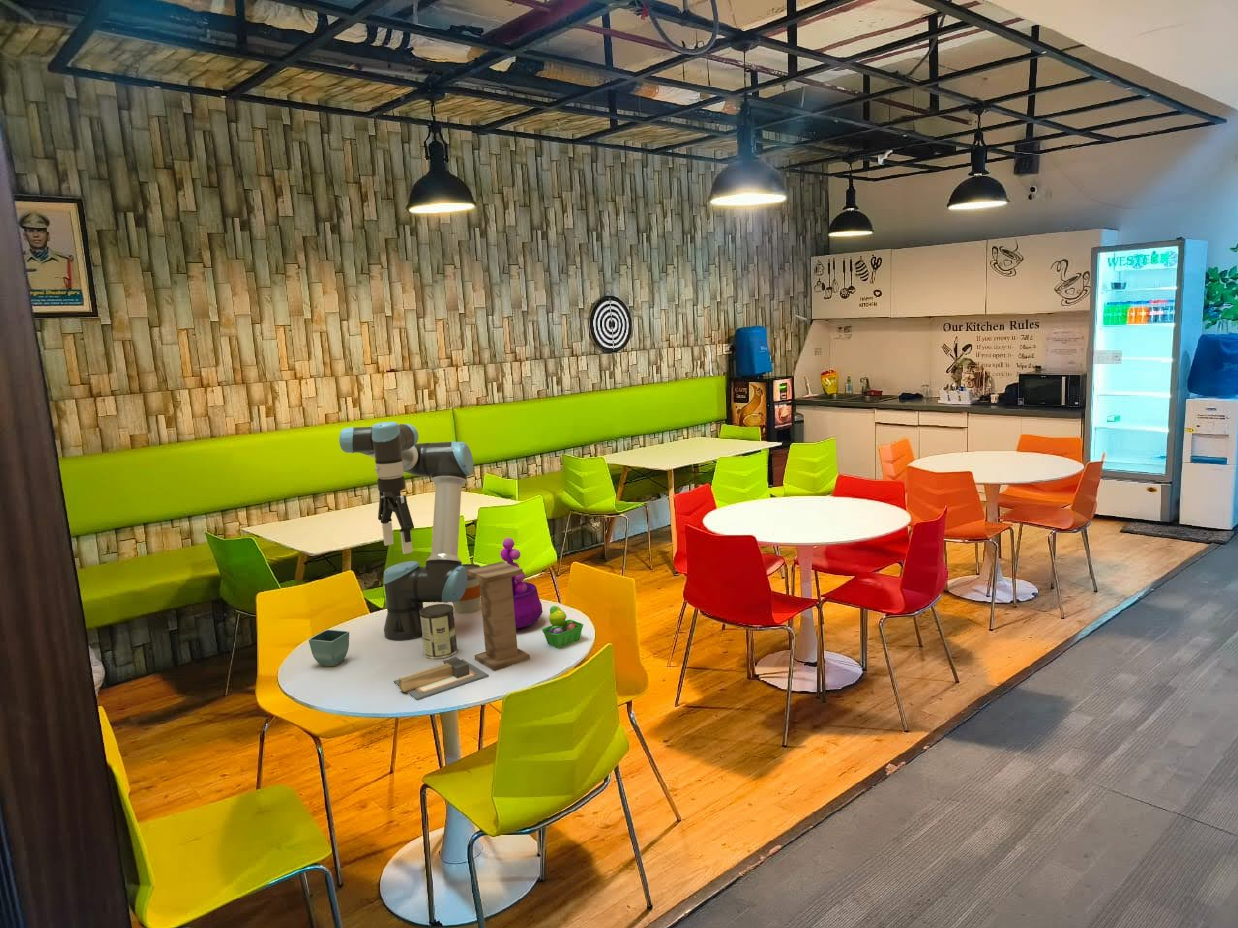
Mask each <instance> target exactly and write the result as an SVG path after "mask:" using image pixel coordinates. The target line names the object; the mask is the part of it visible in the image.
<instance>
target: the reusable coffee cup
mask: <svg viewBox="0 0 1238 928" xmlns="http://www.w3.org/2000/svg"><path fill="white" fill-rule="evenodd" d="M462 566H463V567H465V568H466V570H469V569H473V568H477V567H481V566H482V565H479V564H475V563H462ZM452 604H453V605H452V606H453V608H454V610H453V611H454V613H456V614H464V615H465V614H472V613H475V612H478V611H479V610H480V609H481V595H480V584H479V580H478V579H475V578H473V577H471V576H468V575H467V585H466V589H465V592H464V595H463V596H462V598H461V599H460V600H459V601H456V602H452Z"/></svg>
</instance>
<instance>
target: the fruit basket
mask: <svg viewBox="0 0 1238 928" xmlns="http://www.w3.org/2000/svg"><path fill="white" fill-rule="evenodd" d="M548 616H549V617H548V620H549V623H550V624H551V625H548V626H546V627H544V628H542V629H541V632H542V633H543V634H544V637H545V640H546V643H547V645H548V644H549V645H550V646H551V647H553V646H554V648H556V649H559V648H562V647H565V646H567V645H570V644H572V643H575V642H579V641H580V640H581V635H582V630H583V627H584V624H583V623H582V622H578V621H575V620H572V619H567V614H566V613H565V611H563V609H561V607H560V606H557V605H552V606H551V607H550V608H549V615H548ZM549 645H548V646H549Z"/></svg>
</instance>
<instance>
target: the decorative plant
mask: <svg viewBox="0 0 1238 928" xmlns="http://www.w3.org/2000/svg"><path fill="white" fill-rule="evenodd" d="M514 546H515V541H514V539H513V538H511V537H506V538H505V539H503V541H502V547H503V548H502V549H501V551H500V553H499V554H500V558H501V559H502V560H503V562H505V563H508V564H511V565H513V566H516V567H519V568H520V565H519V563H518V562H515V561H517V560H518V559H520V557H521V552H520V550H518V549H516V548H514ZM511 578H512V590H513V601H514V613H515V625H516V629H521V628H524V627H527V626H531V625H532V624H535V623H536V622H537V621H539V619H540V618H541V616H542V614H543V606H542V605H543V604H542V602H541V600H540V596H539V593H538V589H537V586H536V585H535V584H534V583H530V582H525V581H524V580H525V579H526V574H525V572H524V571H523V574H521V575H517V576H513V577H511Z"/></svg>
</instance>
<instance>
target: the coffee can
mask: <svg viewBox="0 0 1238 928" xmlns="http://www.w3.org/2000/svg"><path fill="white" fill-rule="evenodd" d="M419 613H420V618H421V627H422V636H421V637H422V643H423V654H424V657H425V658H427V659H431V660H441V659H447V658H450V657H452V656H454V655H456V654H457V653H458V645H457V634H456V624H455V615H454V614H455V610H454V606H453V605H451V604H448V603H438V604H430V605H428V606H424V607H423V608H422V609H421V610H420V611H419Z"/></svg>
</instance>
